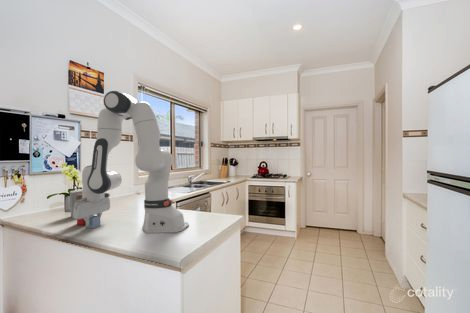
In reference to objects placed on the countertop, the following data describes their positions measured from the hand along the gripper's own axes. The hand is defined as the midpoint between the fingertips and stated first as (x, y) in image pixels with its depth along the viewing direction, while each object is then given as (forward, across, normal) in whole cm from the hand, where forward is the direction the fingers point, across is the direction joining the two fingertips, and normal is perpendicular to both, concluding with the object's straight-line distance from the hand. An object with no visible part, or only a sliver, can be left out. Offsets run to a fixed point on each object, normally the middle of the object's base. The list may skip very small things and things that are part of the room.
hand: (93, 223), depth 118 cm
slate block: (+2, 0, 0) cm, 2 cm away
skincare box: (+2, +17, +26) cm, 31 cm away
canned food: (+2, +4, +9) cm, 10 cm away
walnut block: (-9, +4, +9) cm, 13 cm away
